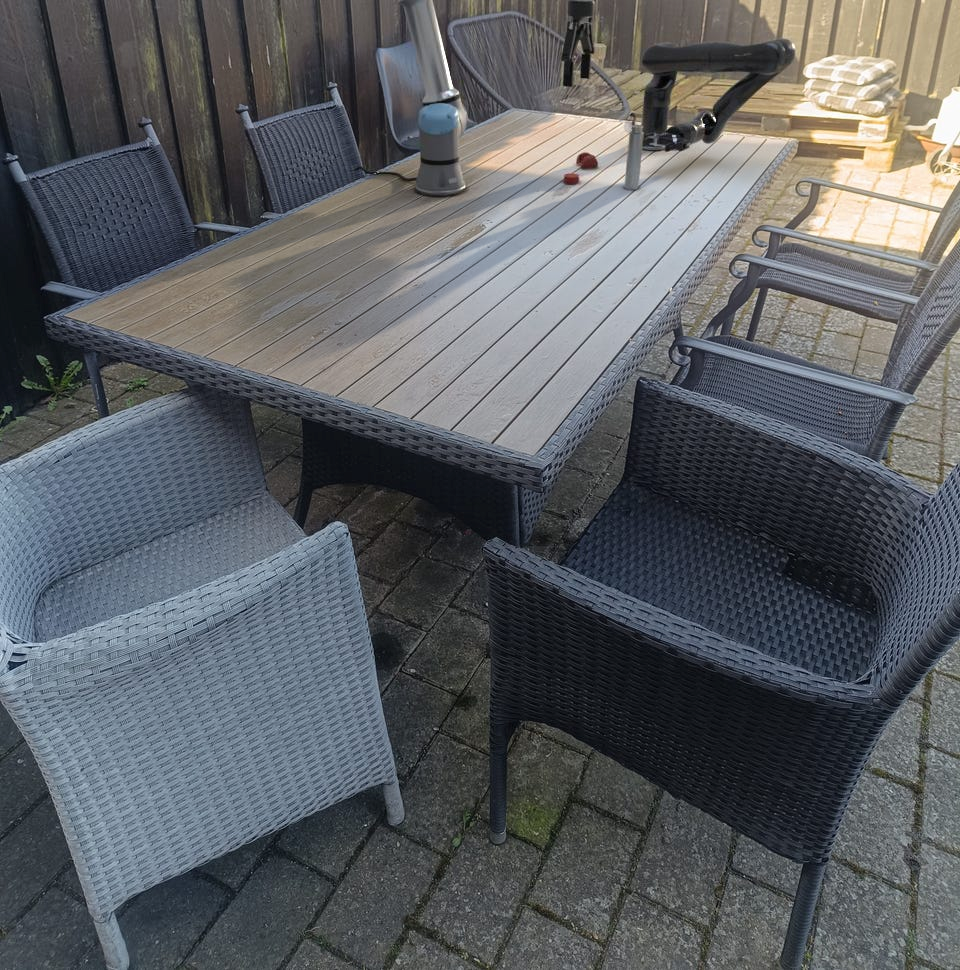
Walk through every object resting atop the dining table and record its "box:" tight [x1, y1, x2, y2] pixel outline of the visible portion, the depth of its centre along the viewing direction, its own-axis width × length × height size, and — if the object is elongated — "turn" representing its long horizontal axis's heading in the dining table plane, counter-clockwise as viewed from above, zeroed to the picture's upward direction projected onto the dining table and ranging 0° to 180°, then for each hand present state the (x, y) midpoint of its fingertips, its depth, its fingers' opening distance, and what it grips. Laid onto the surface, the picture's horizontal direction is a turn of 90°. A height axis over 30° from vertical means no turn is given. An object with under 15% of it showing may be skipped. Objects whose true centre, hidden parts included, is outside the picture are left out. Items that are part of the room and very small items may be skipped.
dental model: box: [575, 151, 599, 169], centre depth 278 cm, size 6×4×8 cm
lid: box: [563, 172, 580, 185], centre depth 264 cm, size 5×5×2 cm
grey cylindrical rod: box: [623, 124, 644, 191], centre depth 255 cm, size 4×4×18 cm
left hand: (576, 82), depth 248 cm, fingers open, 13 cm apart
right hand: (654, 145), depth 261 cm, fingers open, 8 cm apart
